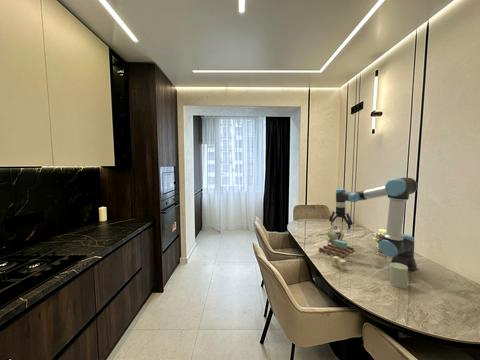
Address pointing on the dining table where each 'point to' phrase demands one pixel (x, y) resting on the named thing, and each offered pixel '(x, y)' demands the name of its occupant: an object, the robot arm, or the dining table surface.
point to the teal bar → (340, 243)
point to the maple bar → (339, 262)
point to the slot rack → (336, 250)
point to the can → (398, 275)
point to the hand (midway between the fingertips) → (340, 230)
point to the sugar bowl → (335, 234)
